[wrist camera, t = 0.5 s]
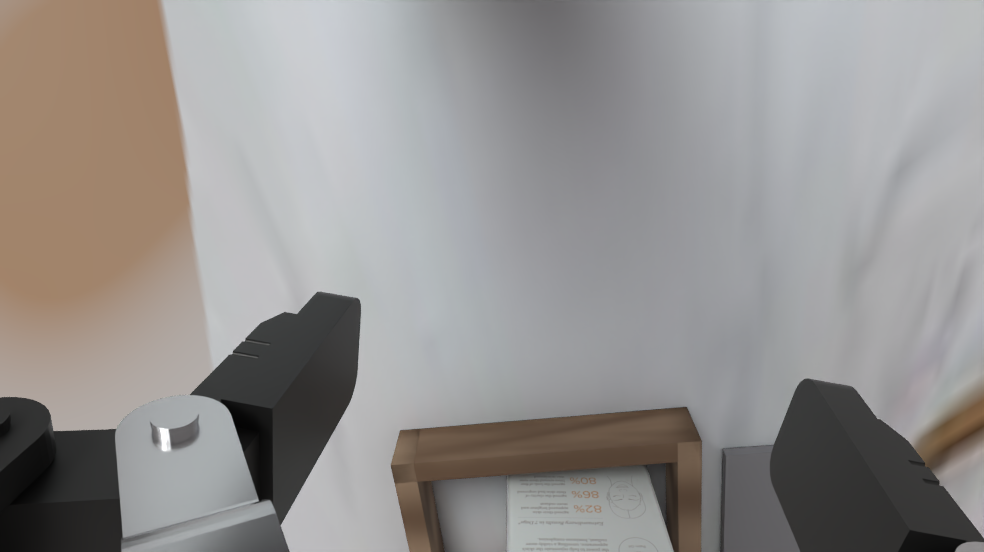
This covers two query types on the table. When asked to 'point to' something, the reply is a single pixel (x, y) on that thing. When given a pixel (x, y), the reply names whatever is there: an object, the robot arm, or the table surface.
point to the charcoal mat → (752, 504)
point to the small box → (585, 512)
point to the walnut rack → (551, 462)
